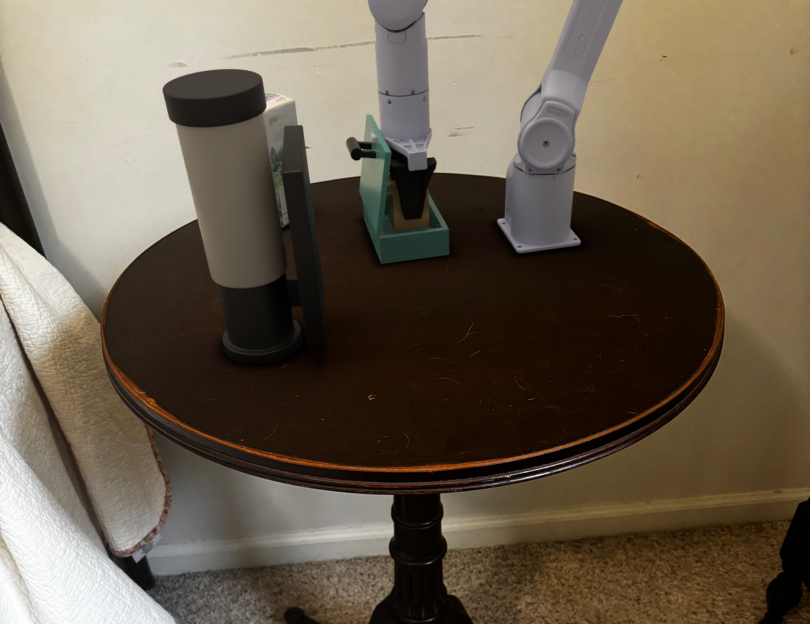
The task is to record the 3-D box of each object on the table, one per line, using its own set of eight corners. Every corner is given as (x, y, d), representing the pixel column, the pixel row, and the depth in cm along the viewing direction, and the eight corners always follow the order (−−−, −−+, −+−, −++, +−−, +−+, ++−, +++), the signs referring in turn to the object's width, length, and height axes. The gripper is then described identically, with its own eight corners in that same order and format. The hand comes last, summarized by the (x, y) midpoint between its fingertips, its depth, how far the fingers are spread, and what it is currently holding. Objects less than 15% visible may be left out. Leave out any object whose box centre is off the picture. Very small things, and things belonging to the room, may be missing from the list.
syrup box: (278, 206, 110) (259, 89, 100) (310, 214, 107) (295, 96, 97) (249, 221, 107) (227, 102, 97) (282, 230, 104) (262, 109, 94)
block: (388, 216, 101) (386, 181, 98) (422, 212, 102) (421, 176, 99) (394, 231, 98) (392, 194, 95) (429, 226, 98) (428, 190, 95)
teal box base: (426, 211, 106) (425, 187, 104) (449, 254, 97) (449, 228, 95) (364, 219, 105) (362, 195, 103) (381, 264, 96) (379, 238, 94)
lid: (372, 114, 97) (341, 111, 96) (391, 152, 87) (358, 149, 86) (364, 192, 103) (335, 190, 102) (381, 235, 94) (350, 233, 93)
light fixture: (228, 318, 88) (171, 67, 71) (326, 309, 89) (294, 57, 71) (219, 378, 80) (152, 109, 62) (329, 368, 80) (292, 98, 63)
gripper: (358, 75, 94) (368, 192, 104) (379, 112, 84) (387, 238, 93) (417, 68, 95) (421, 185, 104) (444, 105, 85) (446, 230, 94)
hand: (409, 210), depth 99 cm, fingers closed on block, 4 cm apart
